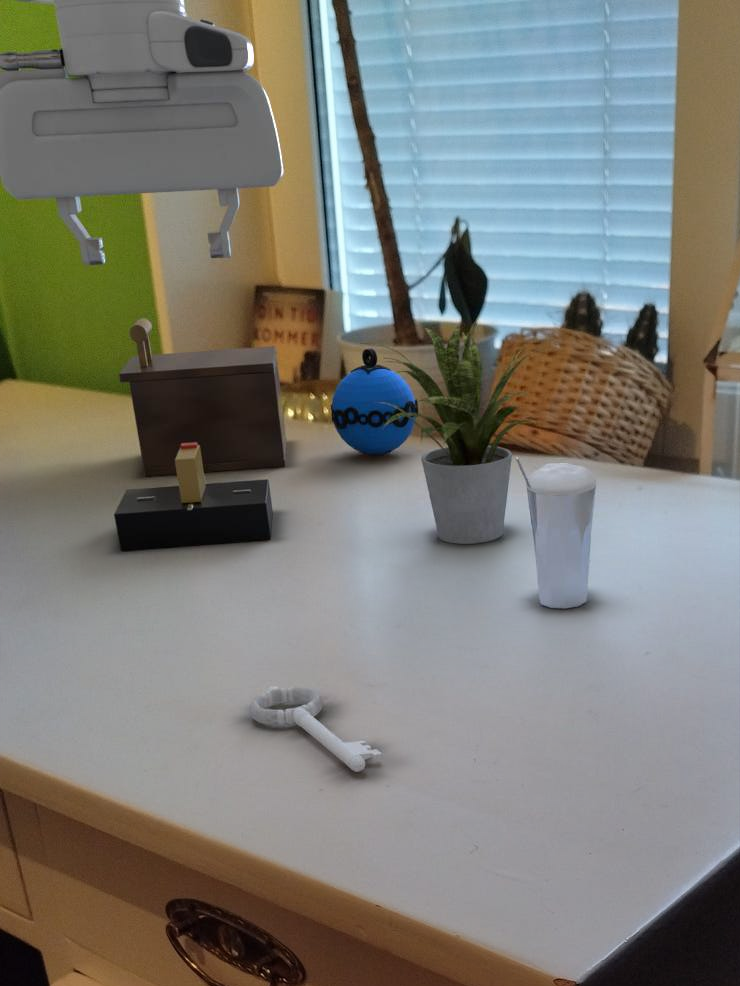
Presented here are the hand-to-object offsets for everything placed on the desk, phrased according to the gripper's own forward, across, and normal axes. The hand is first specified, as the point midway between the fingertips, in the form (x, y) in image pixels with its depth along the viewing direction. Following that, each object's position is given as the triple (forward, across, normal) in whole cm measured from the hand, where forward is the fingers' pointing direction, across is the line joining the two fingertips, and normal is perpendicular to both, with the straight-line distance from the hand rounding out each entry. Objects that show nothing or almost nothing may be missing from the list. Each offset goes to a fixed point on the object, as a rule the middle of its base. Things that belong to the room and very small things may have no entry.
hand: (158, 261), depth 99 cm
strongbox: (+21, 0, +27) cm, 34 cm away
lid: (+12, 0, +27) cm, 30 cm away
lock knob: (+18, 0, 0) cm, 18 cm away
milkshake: (+21, +26, -25) cm, 42 cm away
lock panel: (+21, 0, 0) cm, 21 cm away
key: (+21, +9, -44) cm, 50 cm away
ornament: (+21, +16, +24) cm, 36 cm away
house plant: (+21, +21, -6) cm, 30 cm away
